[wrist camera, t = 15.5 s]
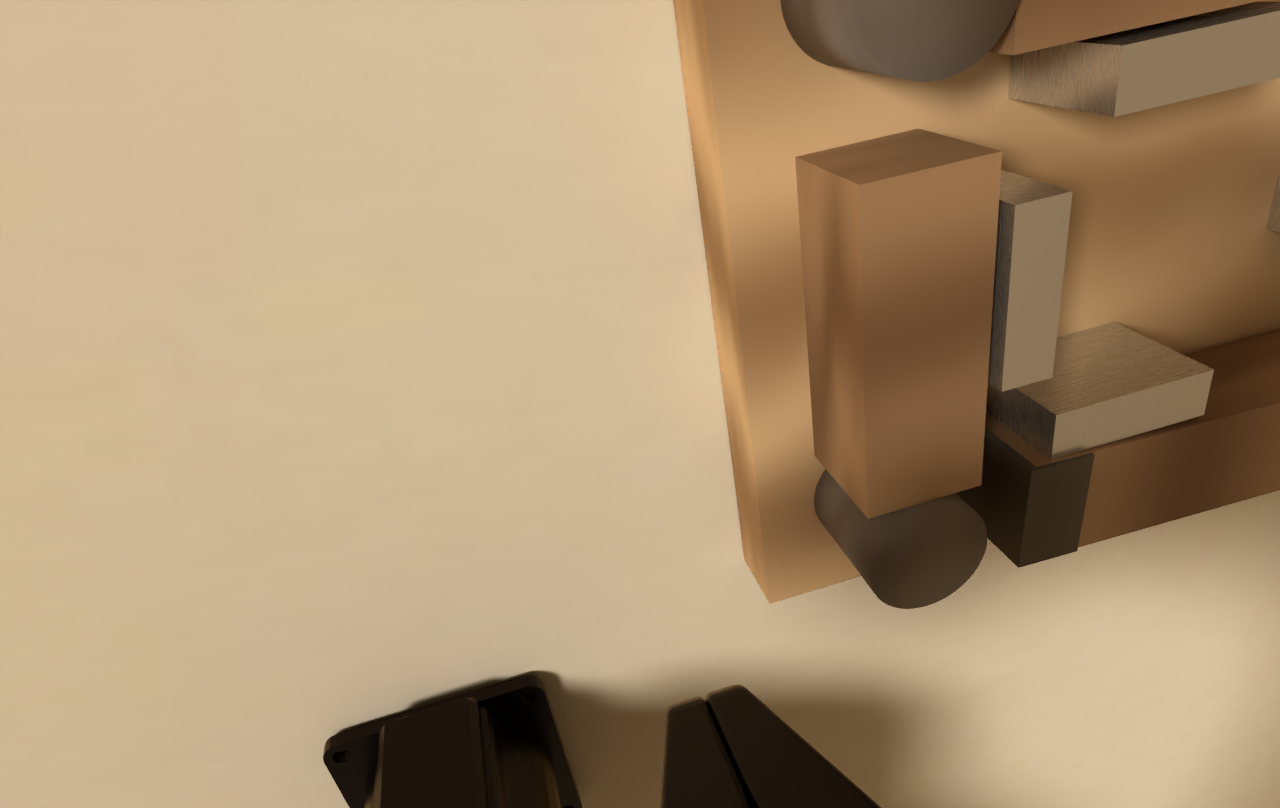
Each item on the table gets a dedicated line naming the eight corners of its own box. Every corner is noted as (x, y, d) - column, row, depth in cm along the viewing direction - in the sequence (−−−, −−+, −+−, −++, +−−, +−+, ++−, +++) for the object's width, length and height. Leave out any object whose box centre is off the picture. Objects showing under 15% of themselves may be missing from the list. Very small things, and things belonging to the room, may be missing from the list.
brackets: (1280, 314, 22) (1397, 357, 19) (922, 414, 20) (995, 476, 18) (1372, -41, 17) (1538, -47, 15) (928, 55, 16) (1025, 67, 13)
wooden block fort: (1308, 391, 26) (1481, 468, 22) (744, 559, 24) (815, 684, 19) (1513, -310, 18) (1869, -409, 13) (652, -165, 15) (745, -231, 11)
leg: (1384, 302, 22) (1512, 343, 19) (1350, 395, 23) (1466, 445, 21) (956, 408, 20) (1035, 470, 17) (948, 503, 21) (1020, 573, 19)
